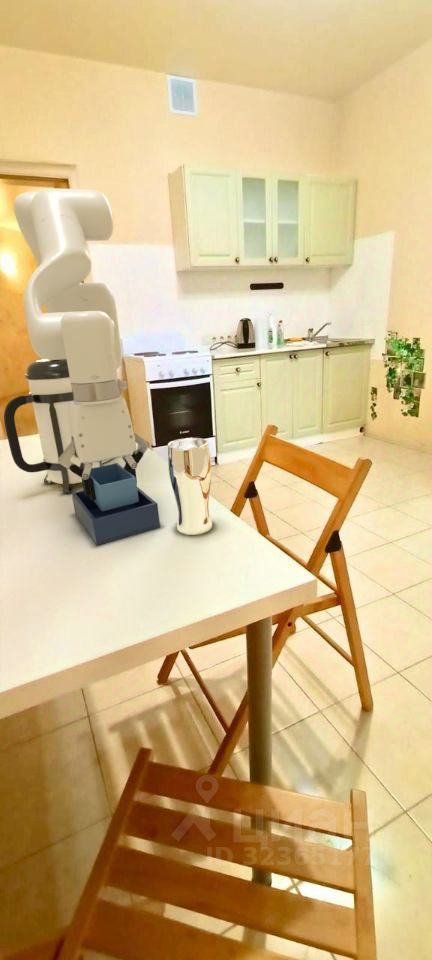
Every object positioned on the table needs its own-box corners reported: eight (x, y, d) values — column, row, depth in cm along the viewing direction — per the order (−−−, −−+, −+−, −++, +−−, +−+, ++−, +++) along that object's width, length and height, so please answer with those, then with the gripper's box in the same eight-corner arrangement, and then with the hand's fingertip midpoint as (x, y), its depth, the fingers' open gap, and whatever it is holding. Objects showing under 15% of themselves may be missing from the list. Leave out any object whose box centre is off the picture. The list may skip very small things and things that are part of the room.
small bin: (86, 492, 83) (82, 469, 81) (120, 484, 86) (117, 462, 84) (102, 511, 74) (98, 486, 73) (139, 501, 77) (136, 477, 76)
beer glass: (168, 524, 78) (159, 442, 73) (204, 515, 81) (198, 435, 76) (184, 540, 73) (176, 452, 67) (222, 529, 76) (217, 444, 70)
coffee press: (56, 471, 110) (31, 344, 100) (119, 470, 108) (100, 340, 98) (19, 499, 94) (-15, 351, 83) (92, 498, 92) (66, 347, 81)
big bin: (75, 514, 85) (71, 492, 83) (131, 500, 90) (128, 479, 88) (96, 545, 73) (92, 520, 71) (160, 527, 78) (157, 503, 76)
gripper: (138, 383, 80) (149, 476, 86) (37, 396, 72) (57, 498, 79) (154, 387, 74) (165, 488, 80) (45, 402, 66) (67, 512, 72)
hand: (111, 492), depth 79 cm, fingers closed on small bin, 6 cm apart
